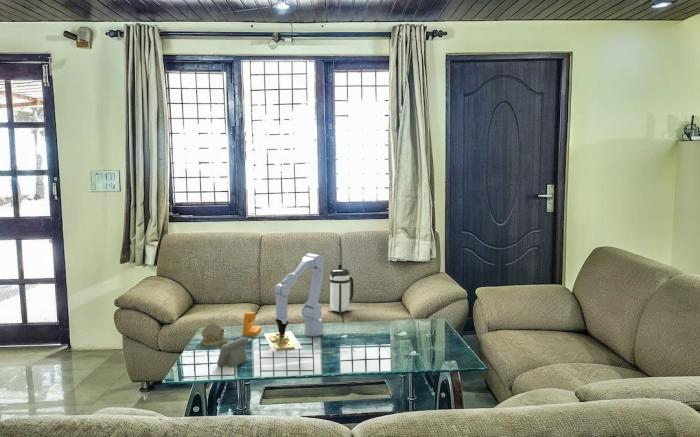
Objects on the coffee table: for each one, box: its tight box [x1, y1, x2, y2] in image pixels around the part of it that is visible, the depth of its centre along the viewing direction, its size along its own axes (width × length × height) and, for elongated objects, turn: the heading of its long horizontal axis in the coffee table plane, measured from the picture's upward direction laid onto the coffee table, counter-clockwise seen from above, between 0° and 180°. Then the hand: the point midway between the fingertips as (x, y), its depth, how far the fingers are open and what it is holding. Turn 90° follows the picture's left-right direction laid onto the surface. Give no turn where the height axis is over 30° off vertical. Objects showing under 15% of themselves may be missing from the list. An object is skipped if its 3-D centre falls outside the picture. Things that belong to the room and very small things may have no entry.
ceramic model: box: [200, 322, 229, 347], centre depth 266 cm, size 14×11×10 cm
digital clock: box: [216, 336, 249, 368], centre depth 238 cm, size 16×9×11 cm, turn 137°
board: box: [263, 330, 303, 352], centre depth 267 cm, size 15×28×1 cm, turn 18°
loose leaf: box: [270, 331, 289, 342], centre depth 269 cm, size 9×8×4 cm
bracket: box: [242, 311, 262, 337], centre depth 279 cm, size 11×7×12 cm, turn 174°
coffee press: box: [327, 264, 354, 316], centre depth 324 cm, size 17×16×30 cm
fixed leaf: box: [274, 335, 296, 352], centre depth 259 cm, size 9×13×4 cm
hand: (281, 333), depth 262 cm, fingers closed on pin, 2 cm apart
